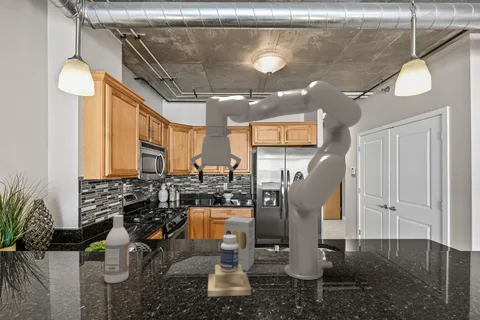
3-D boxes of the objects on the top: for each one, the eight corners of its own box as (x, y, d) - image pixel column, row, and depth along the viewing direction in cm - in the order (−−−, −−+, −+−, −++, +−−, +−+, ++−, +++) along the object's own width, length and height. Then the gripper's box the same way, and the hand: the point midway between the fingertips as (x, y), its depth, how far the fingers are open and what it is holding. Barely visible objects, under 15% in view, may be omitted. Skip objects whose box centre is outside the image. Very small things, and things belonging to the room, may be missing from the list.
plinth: (245, 277, 82) (246, 261, 83) (251, 294, 70) (251, 276, 71) (208, 278, 81) (208, 262, 81) (207, 296, 69) (207, 278, 69)
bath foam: (127, 282, 78) (129, 216, 79) (102, 285, 76) (104, 217, 77) (129, 273, 85) (130, 213, 86) (105, 276, 82) (108, 214, 83)
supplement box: (222, 268, 90) (223, 220, 91) (231, 259, 99) (231, 216, 100) (248, 271, 87) (249, 221, 88) (255, 262, 96) (255, 217, 97)
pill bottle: (236, 273, 73) (236, 238, 73) (218, 271, 74) (218, 237, 74) (239, 266, 78) (240, 234, 79) (223, 265, 79) (223, 233, 80)
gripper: (240, 135, 92) (239, 182, 91) (192, 134, 91) (191, 182, 90) (242, 132, 85) (242, 183, 84) (190, 131, 83) (189, 183, 82)
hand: (215, 183), depth 87 cm, fingers open, 9 cm apart
